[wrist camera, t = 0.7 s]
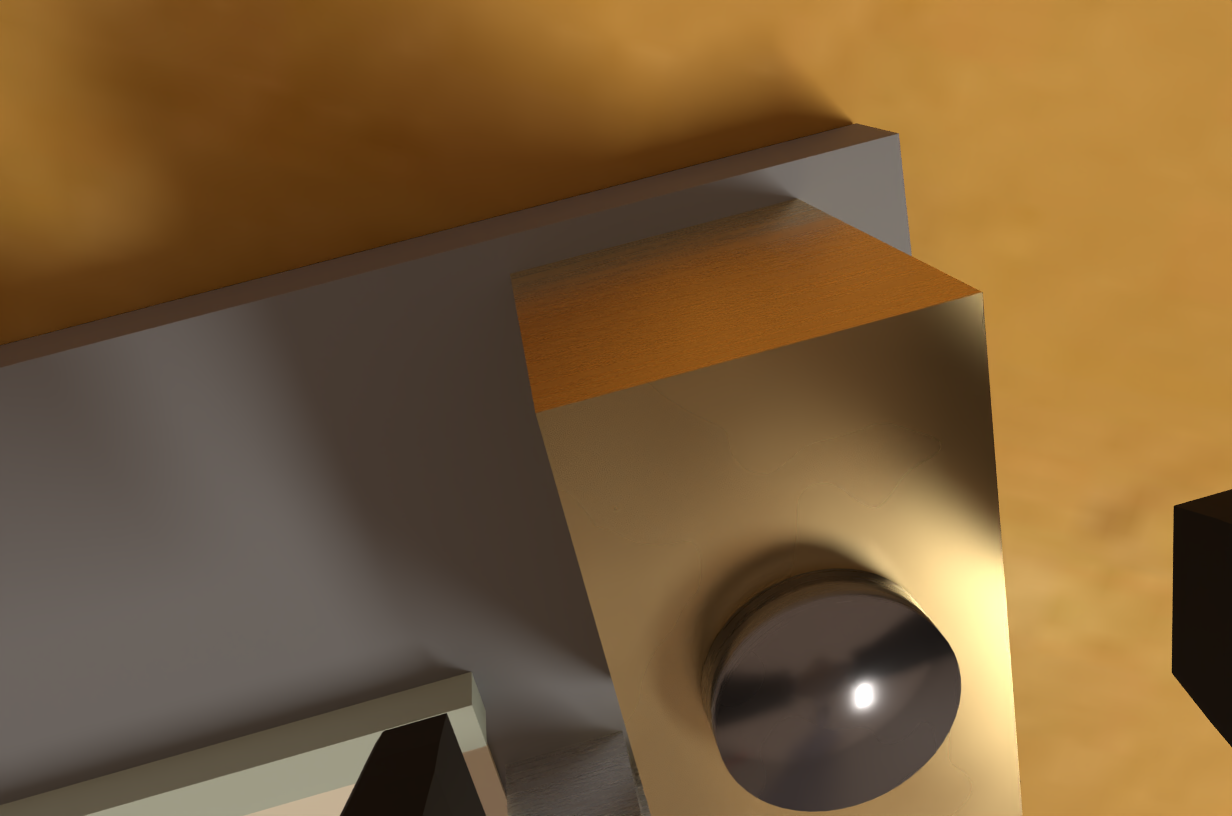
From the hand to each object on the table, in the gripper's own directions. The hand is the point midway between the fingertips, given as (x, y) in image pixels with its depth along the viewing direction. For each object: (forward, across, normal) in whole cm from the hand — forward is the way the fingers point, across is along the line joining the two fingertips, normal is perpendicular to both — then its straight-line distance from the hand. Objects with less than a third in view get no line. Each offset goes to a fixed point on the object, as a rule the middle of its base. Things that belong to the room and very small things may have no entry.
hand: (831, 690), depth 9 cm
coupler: (+5, 0, 0) cm, 5 cm away
